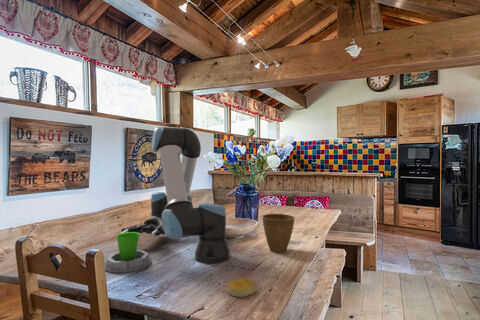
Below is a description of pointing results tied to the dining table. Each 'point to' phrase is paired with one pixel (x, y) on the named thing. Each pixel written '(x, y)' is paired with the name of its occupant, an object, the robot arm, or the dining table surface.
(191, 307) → the dining table surface
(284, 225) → the plant pot
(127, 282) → the dining table surface
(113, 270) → the ring
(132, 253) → the cup
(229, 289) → the bread roll
